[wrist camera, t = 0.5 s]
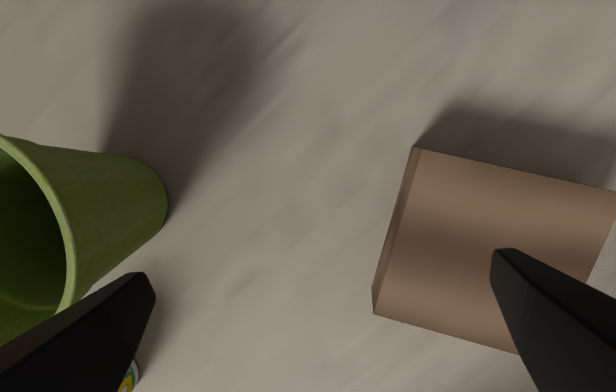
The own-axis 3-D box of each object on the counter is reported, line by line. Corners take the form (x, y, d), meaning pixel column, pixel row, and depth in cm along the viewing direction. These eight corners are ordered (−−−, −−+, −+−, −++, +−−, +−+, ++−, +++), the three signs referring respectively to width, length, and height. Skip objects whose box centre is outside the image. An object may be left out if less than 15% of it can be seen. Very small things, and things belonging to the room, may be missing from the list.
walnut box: (517, 325, 23) (548, 363, 20) (371, 285, 25) (373, 314, 21) (577, 182, 21) (626, 194, 17) (411, 146, 22) (422, 148, 18)
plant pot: (226, 200, 25) (121, 254, 14) (140, 292, 28) (-3, 396, 17) (117, 91, 24) (-80, 57, 13) (41, 195, 27) (-171, 237, 16)
